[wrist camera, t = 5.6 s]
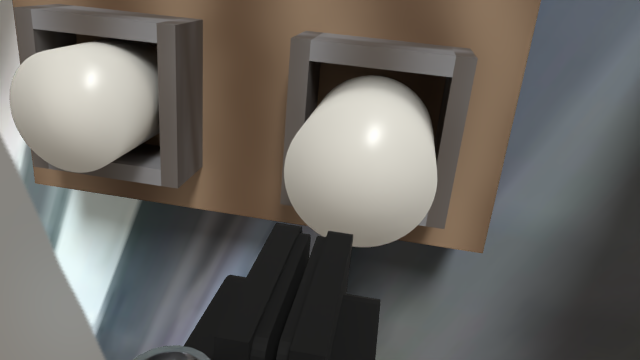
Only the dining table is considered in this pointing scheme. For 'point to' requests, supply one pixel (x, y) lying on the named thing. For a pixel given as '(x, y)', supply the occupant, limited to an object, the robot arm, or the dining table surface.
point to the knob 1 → (87, 102)
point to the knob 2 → (364, 162)
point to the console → (299, 93)
